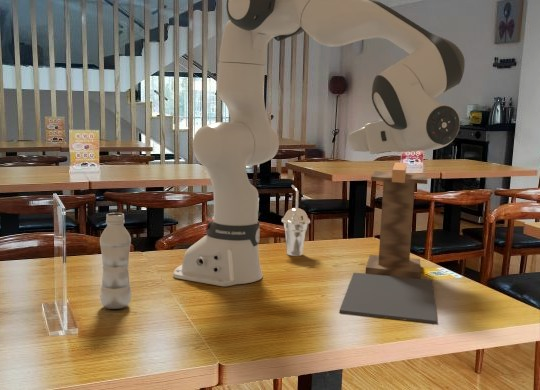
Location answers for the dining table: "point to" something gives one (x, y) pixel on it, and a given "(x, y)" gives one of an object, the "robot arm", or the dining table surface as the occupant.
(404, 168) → the orange square bar
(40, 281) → the dining table surface
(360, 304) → the rubber mat
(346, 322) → the dining table surface
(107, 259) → the plastic bottle
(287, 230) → the cup with straw
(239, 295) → the dining table surface
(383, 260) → the walnut stand
